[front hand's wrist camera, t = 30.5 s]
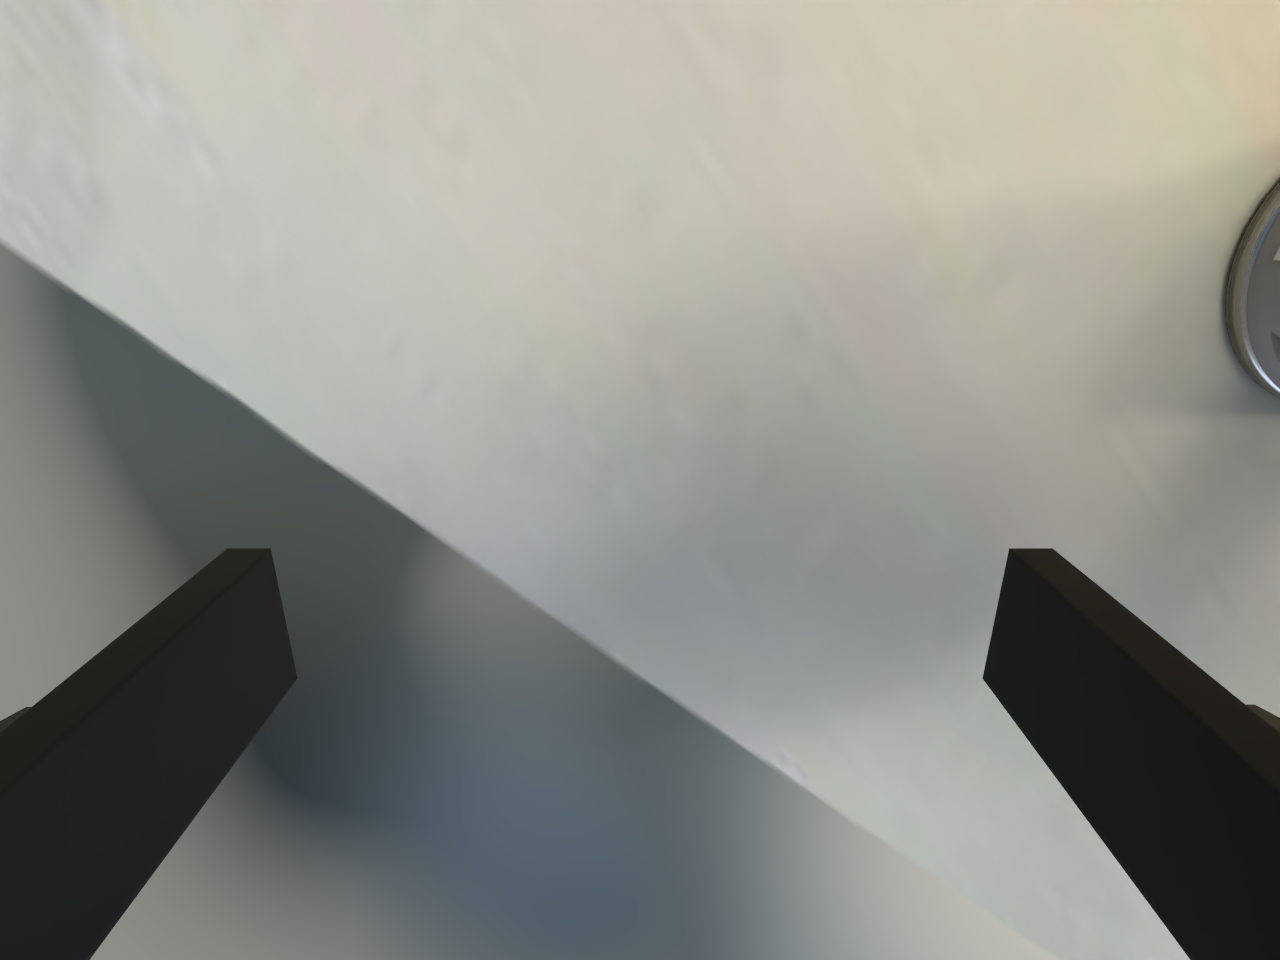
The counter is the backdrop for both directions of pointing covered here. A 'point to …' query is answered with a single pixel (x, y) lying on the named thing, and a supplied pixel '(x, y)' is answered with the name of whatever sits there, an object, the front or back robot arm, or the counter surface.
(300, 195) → the counter surface
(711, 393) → the counter surface
